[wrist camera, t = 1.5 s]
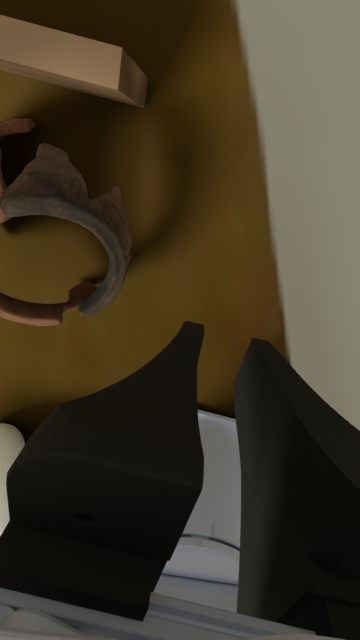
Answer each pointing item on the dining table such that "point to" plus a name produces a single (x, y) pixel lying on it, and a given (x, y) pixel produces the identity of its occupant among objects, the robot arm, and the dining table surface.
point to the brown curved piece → (72, 204)
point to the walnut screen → (70, 62)
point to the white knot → (7, 465)
